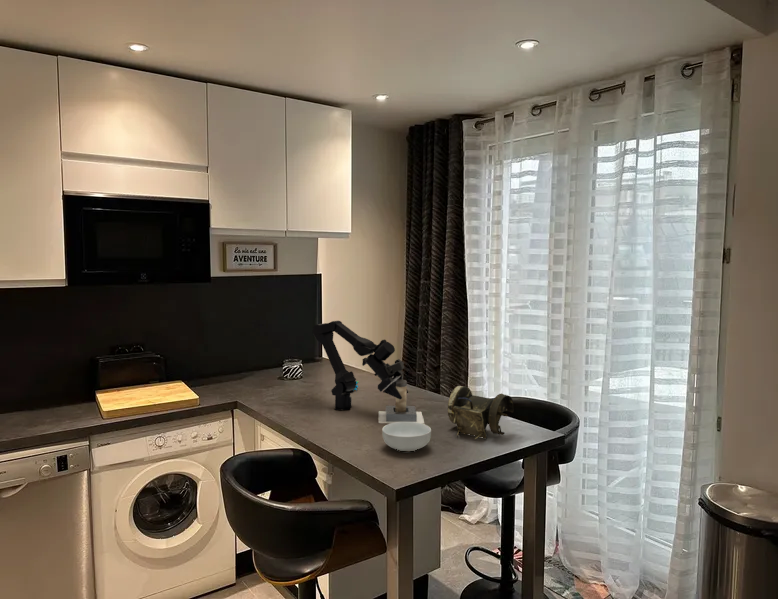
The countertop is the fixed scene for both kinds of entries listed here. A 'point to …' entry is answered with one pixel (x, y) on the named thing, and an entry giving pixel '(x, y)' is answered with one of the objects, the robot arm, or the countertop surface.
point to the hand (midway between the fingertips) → (404, 395)
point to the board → (383, 419)
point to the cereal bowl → (406, 435)
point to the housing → (401, 414)
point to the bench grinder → (477, 411)
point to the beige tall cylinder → (402, 389)
